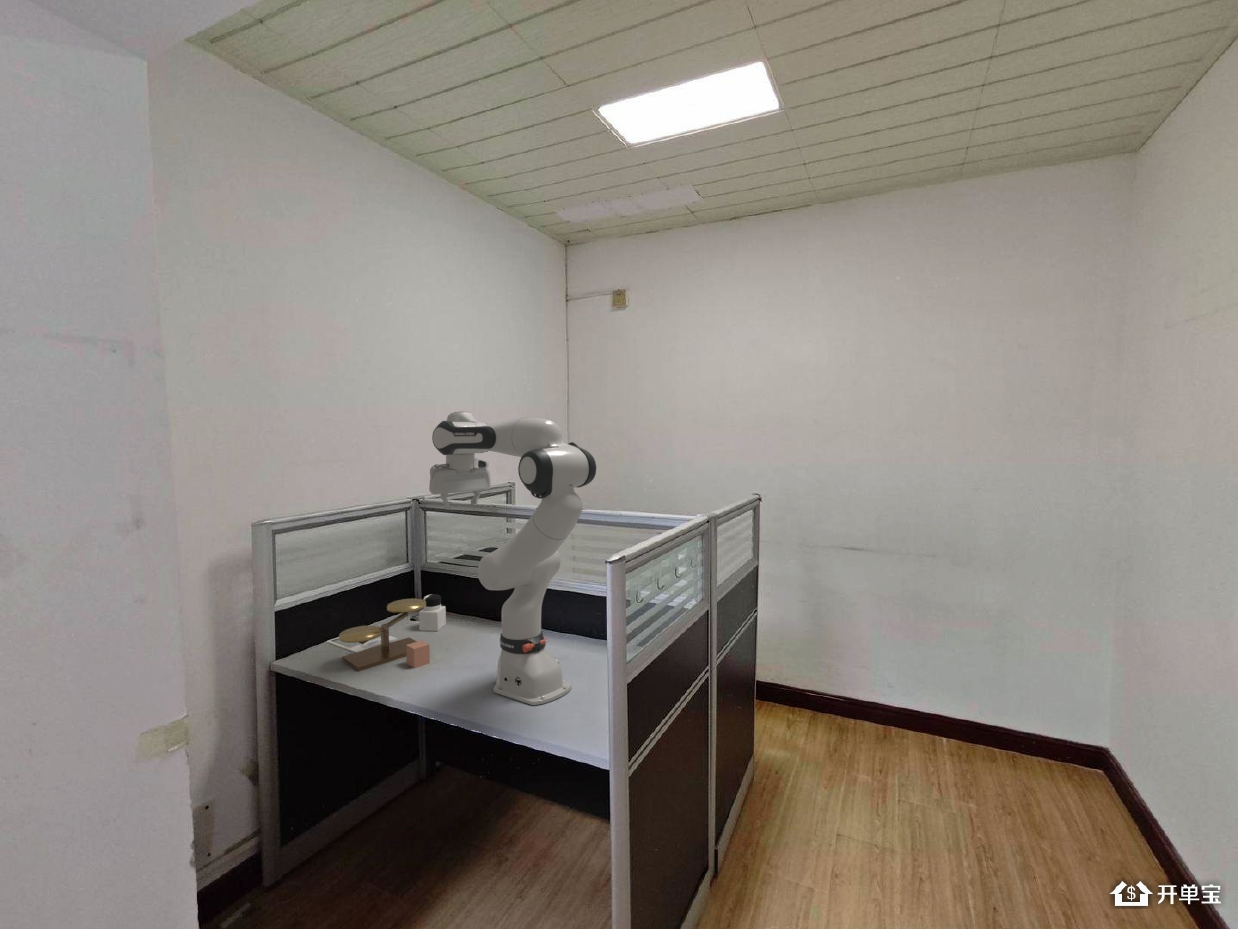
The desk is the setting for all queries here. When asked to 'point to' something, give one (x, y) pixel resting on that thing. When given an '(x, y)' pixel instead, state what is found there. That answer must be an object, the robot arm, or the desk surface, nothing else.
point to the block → (418, 654)
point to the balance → (386, 649)
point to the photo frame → (362, 646)
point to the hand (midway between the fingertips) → (461, 506)
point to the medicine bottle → (432, 614)
